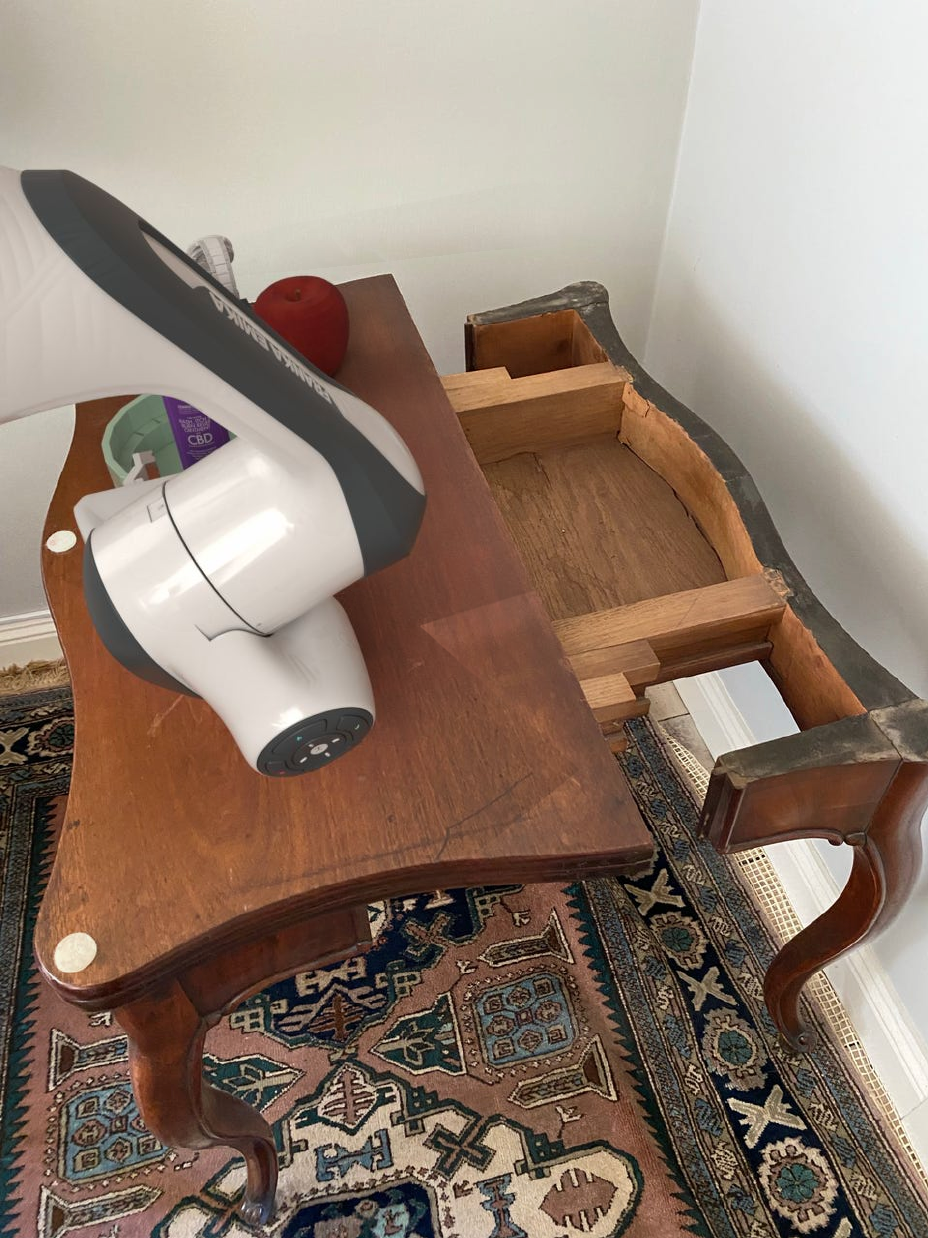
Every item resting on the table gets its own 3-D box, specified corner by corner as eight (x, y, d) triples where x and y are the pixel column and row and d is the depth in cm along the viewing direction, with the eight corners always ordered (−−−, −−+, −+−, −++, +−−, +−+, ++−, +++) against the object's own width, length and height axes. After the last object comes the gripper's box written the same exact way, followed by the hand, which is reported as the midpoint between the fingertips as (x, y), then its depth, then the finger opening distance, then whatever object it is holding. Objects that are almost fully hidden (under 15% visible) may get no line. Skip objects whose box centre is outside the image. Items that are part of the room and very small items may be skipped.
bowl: (135, 560, 76) (116, 511, 72) (108, 448, 86) (90, 399, 82) (322, 510, 80) (315, 461, 76) (276, 409, 90) (267, 361, 86)
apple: (247, 368, 95) (228, 279, 88) (326, 339, 99) (314, 251, 91) (290, 411, 90) (274, 320, 83) (372, 379, 94) (363, 289, 86)
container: (202, 497, 81) (160, 348, 69) (176, 472, 83) (131, 324, 72) (247, 475, 83) (213, 327, 71) (221, 451, 85) (184, 304, 74)
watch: (246, 315, 102) (227, 218, 94) (266, 350, 97) (247, 252, 89) (197, 326, 101) (173, 228, 93) (215, 362, 96) (191, 263, 88)
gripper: (396, 487, 60) (335, 378, 69) (79, 570, 55) (55, 441, 63) (401, 555, 65) (343, 445, 73) (109, 638, 60) (83, 509, 68)
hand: (207, 443), depth 68 cm, fingers open, 8 cm apart
